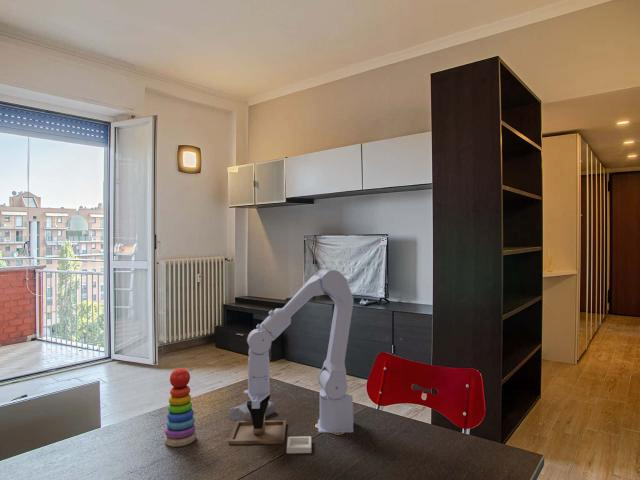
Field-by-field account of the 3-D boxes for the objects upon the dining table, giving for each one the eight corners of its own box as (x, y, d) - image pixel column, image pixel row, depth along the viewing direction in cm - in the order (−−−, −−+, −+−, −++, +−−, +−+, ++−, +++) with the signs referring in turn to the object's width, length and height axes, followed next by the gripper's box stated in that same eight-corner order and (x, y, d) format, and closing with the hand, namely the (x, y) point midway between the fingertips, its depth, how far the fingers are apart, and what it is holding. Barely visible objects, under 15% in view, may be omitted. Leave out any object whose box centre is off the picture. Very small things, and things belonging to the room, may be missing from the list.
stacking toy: (202, 437, 114) (202, 366, 114) (181, 450, 107) (181, 375, 107) (179, 431, 117) (179, 363, 117) (157, 444, 110) (157, 371, 110)
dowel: (265, 429, 117) (265, 408, 117) (264, 434, 114) (264, 413, 114) (254, 428, 117) (253, 408, 117) (252, 434, 114) (252, 413, 114)
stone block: (225, 425, 126) (249, 426, 121) (224, 408, 127) (247, 408, 121) (254, 413, 136) (278, 414, 130) (252, 397, 137) (276, 397, 131)
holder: (311, 442, 111) (311, 436, 111) (311, 454, 105) (311, 447, 105) (287, 442, 111) (287, 436, 111) (286, 454, 105) (286, 447, 105)
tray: (286, 424, 122) (286, 420, 122) (283, 444, 110) (283, 440, 110) (236, 425, 122) (236, 420, 122) (228, 445, 110) (228, 440, 110)
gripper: (247, 366, 123) (247, 414, 123) (239, 383, 108) (239, 437, 108) (272, 366, 123) (272, 414, 123) (267, 383, 109) (267, 437, 109)
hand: (259, 425), depth 116 cm, fingers closed on dowel, 3 cm apart
